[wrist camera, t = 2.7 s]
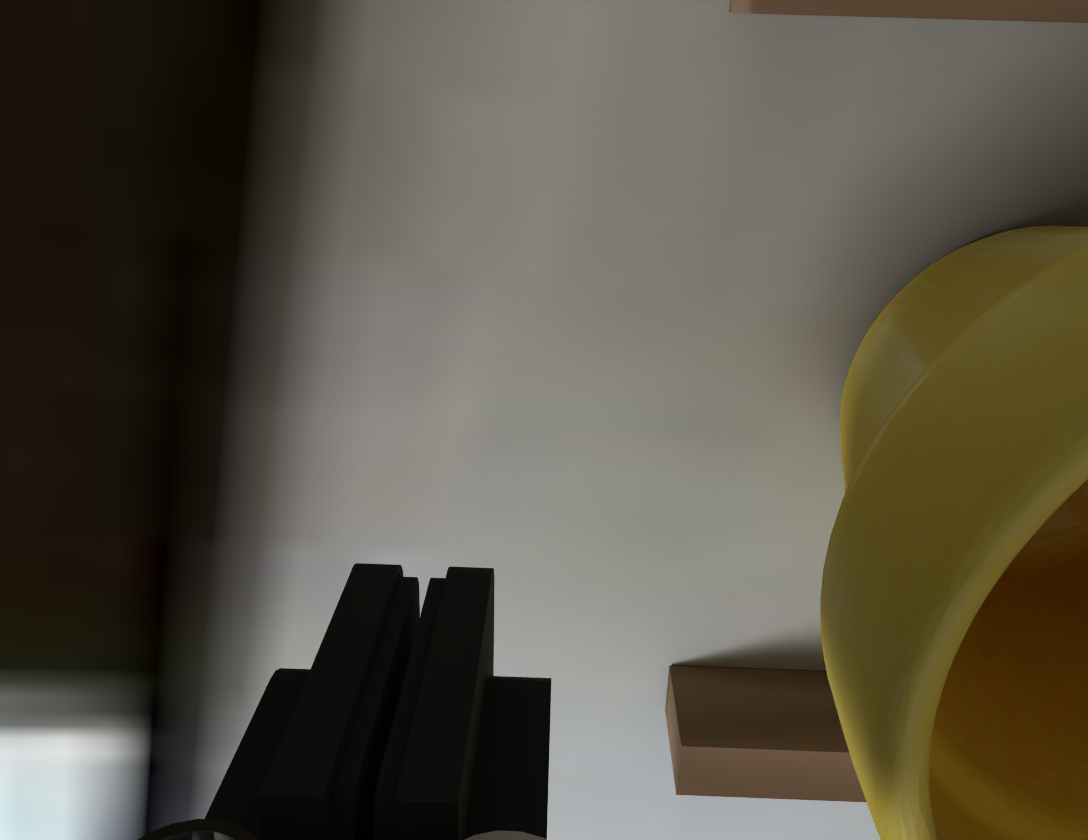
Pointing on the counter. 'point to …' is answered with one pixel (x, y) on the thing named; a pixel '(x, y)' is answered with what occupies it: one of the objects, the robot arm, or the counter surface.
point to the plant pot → (968, 547)
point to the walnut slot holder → (788, 695)
